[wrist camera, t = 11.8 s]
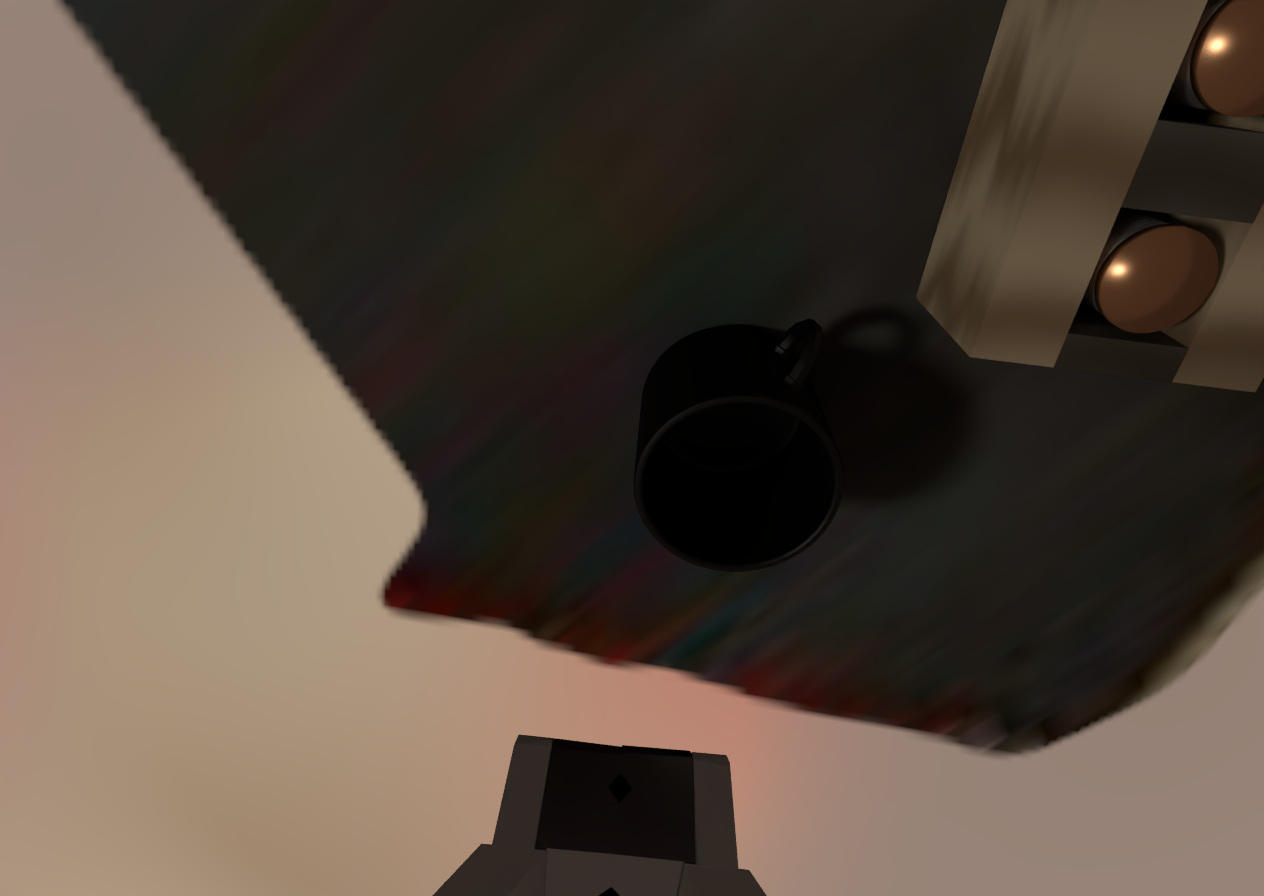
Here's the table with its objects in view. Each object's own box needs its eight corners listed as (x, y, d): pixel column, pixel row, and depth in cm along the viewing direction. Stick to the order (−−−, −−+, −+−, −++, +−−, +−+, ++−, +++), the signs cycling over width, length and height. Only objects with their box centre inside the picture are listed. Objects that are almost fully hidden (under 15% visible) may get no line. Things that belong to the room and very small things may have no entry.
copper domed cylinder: (1116, -19, 30) (1237, -33, 24) (1217, -6, 30) (1365, -17, 24) (1075, 94, 32) (1175, 109, 26) (1170, 106, 32) (1295, 124, 26)
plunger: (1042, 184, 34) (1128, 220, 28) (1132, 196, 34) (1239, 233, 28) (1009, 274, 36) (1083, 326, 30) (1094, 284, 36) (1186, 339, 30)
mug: (877, 335, 39) (928, 412, 31) (750, 501, 44) (766, 602, 36) (724, 246, 37) (737, 303, 29) (611, 430, 42) (597, 520, 35)
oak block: (1032, -85, 30) (1141, -121, 23) (1325, -47, 30) (1522, -72, 23) (915, 297, 38) (970, 356, 31) (1148, 326, 38) (1254, 392, 31)
